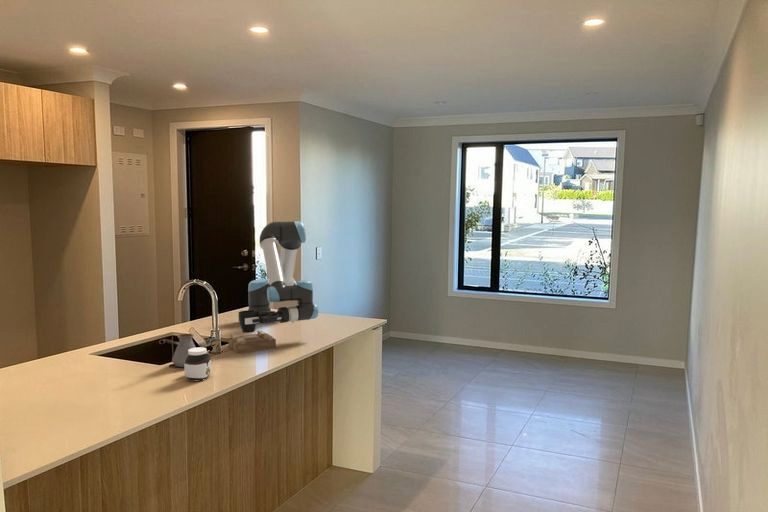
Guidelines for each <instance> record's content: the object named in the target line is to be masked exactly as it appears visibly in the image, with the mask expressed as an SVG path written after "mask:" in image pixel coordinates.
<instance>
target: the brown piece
mask: <svg viewBox="0 0 768 512" xmlns="http://www.w3.org/2000/svg"><path fill="white" fill-rule="evenodd" d="M227 341H228V347H229V348H230V347H231V348H230V349H232V350H233V351H234V350H235V351H234V352H236V353H237V354H244V353H250V352H257V351H258V352H259V351H264V349H265V350H270V348H272V349H277V339H275V338H274V337H273V336H272V335H270V334H269V333H267V332H266V331H263V330H257V332H256V333H255V334H248V335H238V334H236V333H231V334H230V337H228V338H227Z"/></svg>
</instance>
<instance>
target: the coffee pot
mask: <svg viewBox="0 0 768 512" xmlns="http://www.w3.org/2000/svg"><path fill="white" fill-rule="evenodd" d="M194 336H195V335H194V334H193V333H181V334H178V335H177V338H178V341H174V340H171V339H167V338H162V339H159V345H160V344H161V345H163V344H165V343H167V344H173V345H177V346H176V348H175V351H174V353H173V356H172V359H171V362H172V364H174V365H175V366H176V367H177V366H179V367H184V363H185V359H186V358H187V356H188V355H189V354H188V350H189V349H191V348H197V347H196V345H195V343H194V341H193V337H194ZM161 341H162V342H163V343H161ZM179 367H178V368H179Z"/></svg>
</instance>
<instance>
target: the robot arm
mask: <svg viewBox="0 0 768 512" xmlns="http://www.w3.org/2000/svg"><path fill="white" fill-rule="evenodd" d="M306 240H307V237H306V228H305V225H304V223H303V221H295V220H293V221H271V222H270V223H267V224H266V225H265V226H264V227H263V228H262V230H261V232H260V235H259V246H260V248H261V250H262V251H263V255H264V256H263V257H264V262H265V267H266V272H267V276H268V278H258V279H253V280H251V281H250V282H249V283H248V289H247V292H248V309H247V310H257V311H258V312H259V316H258V317H253V318H245V325H246V324H254V323H256V324H263V325H264V324H269V323H274V322H278V323H280V324H284V323H285V324H286V323H294V322H299V321H310V320H315V319H317V317H318V316H319V307H318V306H317V304H316V303H314V302H313V301H314V299H313V298H314V295H313V294H314V289H313V288H314V287H313V282H312V281H311V280H306V279H305V280H298V281H296V280H295V278H294V272H295V266H296V260H297V259H296V258H297V253H298V250H299V249H300V248H301V246H302V244H305V243H306ZM279 246H280V252H279ZM296 301H297V305H289V306H283V307H281V306H280V307H278V309H277V311H275V310H272V309H271V306H270V304H271V303H281V302H283V303H284V302H296ZM237 316H238V317H237V318H238V319H237V320H238V322H239V314H238V315H237Z"/></svg>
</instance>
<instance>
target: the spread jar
mask: <svg viewBox="0 0 768 512" xmlns="http://www.w3.org/2000/svg"><path fill="white" fill-rule="evenodd" d="M188 354H189V355H188V356H187V358H186V359H185V363H184V368H183V369H184V377H185V378H186V379H187V380H188V379H189V380H188V381H190V380H203V379H206V378H207V379H209V377H210V375H211V373H212V360H211V359H212V358H211V355H210V354H208V353H207V348H206V347H203V346H202V347H200V346H199V347H196V348H191V349H189V350H188ZM207 379H206V380H207ZM203 381H204V380H203Z"/></svg>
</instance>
